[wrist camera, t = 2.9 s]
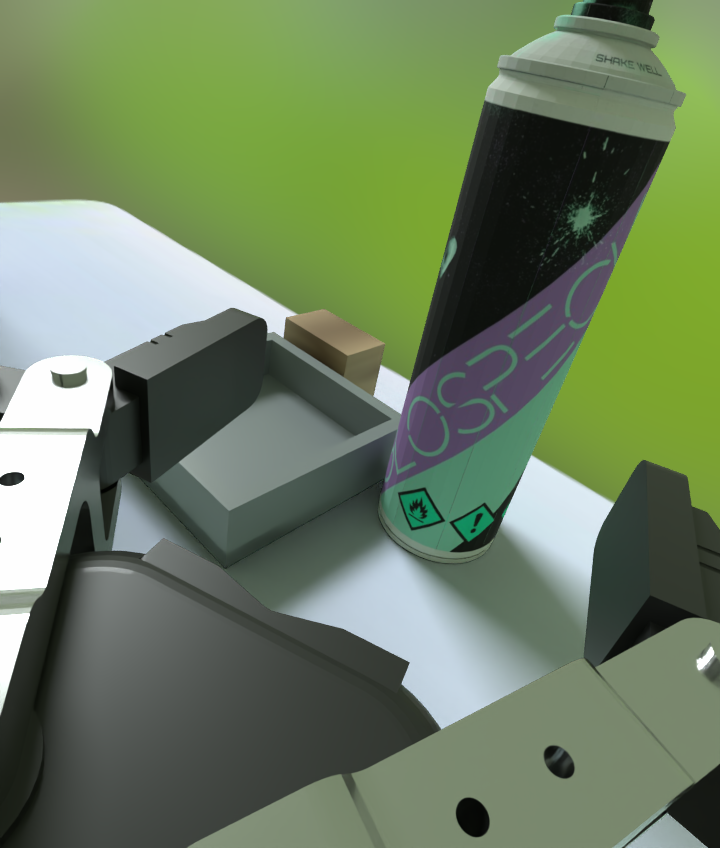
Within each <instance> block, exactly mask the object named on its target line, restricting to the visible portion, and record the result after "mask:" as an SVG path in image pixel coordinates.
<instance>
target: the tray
mask: <svg viewBox="0 0 720 848" xmlns="http://www.w3.org/2000/svg"><path fill="white" fill-rule="evenodd" d="M400 418H401V414H400V413H398V412H396V411H395V410H393V409H392V408H390V407H389V406H387V405H386V404H384V403H383V402H381V401H379V400H378V399H376V398H375V397H373V396H372V395H370V394H369V393H367V392H366V391H364V390H362V389H361V388H359V387H358V386H356V385H355V384H353V383H352V382H350V381H349V380H347V379H346V378H344V377H342V376H341V375H339V374H338V373H336V372H335V371H333V370H332V369H330V368H329V367H327V366H325V365H324V364H322V363H321V362H319V361H318V360H316V359H315V358H313V357H312V356H310V355H308V354H307V353H305V352H304V351H302V350H301V349H299V348H298V347H296V346H295V345H293V344H291V343H290V342H288V341H287V340H285V339H284V338H282V337H281V336H279V335H278V334H276V333H275V332H272V333H268V334H267V341H266V352H265V362H264V373H263V382H262V387H261V390H260V393H259V395H258V397H257V399H256V401H255V402H254V403H253V405H252V406H251V407H250V408H248V409H247V410H246V411H244V412H243V413H242V414H240V415H239V416H238V417H237V418H235V419H234V420H233V421H231V422H230V423H229V424H228V425H226V426H225V427H224V428H222V429H221V430H220V431H218V432H217V433H216V434H215V435H213V436H212V437H211V438H209V439H208V440H207V441H206V442H204V443H203V444H202V445H200V446H199V447H198V448H196V449H195V450H194V451H193V452H191V453H190V454H189V455H187V456H186V457H185V458H184V459H182V460H181V461H180V462H178V463H177V464H176V465H174V466H173V467H172V468H171V469H169V470H168V471H167V472H165V473H164V474H163V475H162V476H160V477H159V478H158V479H156V480H155V481H154V482H152V483H150V482H148V481H146V480H143V479H141V478H140V479H141V480H142V481H143V482H144V483H145V484H146V485H147V486H148V487H149V488H150V489H151V490H152V491H153V492H154V494H155V495H156V496H157V497H158V498H159V499H160V500H161V501H162V502H163V503H164V504H165V505H166V506H167V507H168V508H169V509H170V510H171V512H172V513H173V514H174V515H175V516H176V517H177V518H178V519H179V520H180V521H181V522H182V523H183V524H184V525H185V526H186V527H187V528H188V530H189V531H190V532H191V533H192V534H193V535H194V536H195V537H196V538H197V539H198V540H199V541H200V542H201V543H202V544H203V545H204V546H205V548H206V549H207V550H208V551H209V552H210V553H211V554H212V555H213V556H214V557H215V558H216V559H217V560H218V561H219V562H220V563H221V565H222V566H223V567H224V568H227V567H229V566H231V565H232V564H234V563H236V562H238V561H239V560H241V559H243V558H245V557H246V556H248V555H250V554H252V553H254V552H255V551H257V550H259V549H261V548H262V547H264V546H266V545H268V544H269V543H271V542H273V541H275V540H277V539H278V538H280V537H282V536H284V535H285V534H287V533H289V532H291V531H292V530H294V529H296V528H298V527H300V526H301V525H303V524H305V523H307V522H308V521H310V520H312V519H314V518H315V517H317V516H319V515H321V514H322V513H324V512H326V511H328V510H330V509H331V508H333V507H335V506H337V505H338V504H340V503H342V502H344V501H345V500H347V499H349V498H351V497H353V496H354V495H356V494H358V493H360V492H361V491H363V490H365V489H367V488H368V487H370V486H372V485H374V484H376V483H377V482H379V481H381V480H383V479H384V478H385V475H386V471H387V467H388V464H389V460H390V456H391V452H392V448H393V445H394V441H395V437H396V433H397V430H398V426H399V422H400Z"/></svg>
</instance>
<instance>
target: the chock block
mask: <svg viewBox="0 0 720 848" xmlns="http://www.w3.org/2000/svg"><path fill="white" fill-rule="evenodd" d="M284 339H285V340H287V341H288V342H290V343H291V344H293V345H295V346H296V347H298V348H299V349H301V350H302V351H304V352H305V353H307V354H308V355H310V356H312V357H313V358H315V359H316V360H318V361H319V362H321V363H322V364H324V365H325V366H327V367H329V368H330V369H332V370H333V371H335V372H336V373H338V374H339V375H341V376H342V377H344V378H346V379H347V380H349V381H350V382H352V383H353V384H355V385H356V386H358V387H359V388H361V389H362V390H364V391H366V392H367V393H369V394H370V395H372V396H373V395H374V391H375V387H376V382H377V378H378V373H379V369H380V365H381V360H382V355H383V351H384V346H385V344H384V343H383V342H381V341H379V340H378V339H376V338H374V337H372V336H371V335H369V334H367V333H365V332H364V331H362V330H360V329H358V328H357V327H355V326H353V325H351V324H350V323H348V322H346V321H344V320H343V319H341V318H339V317H337V316H336V315H334V314H332V313H330V312H328V311H327V310H325V309H323V310H318V311H313V312H309V313H304V314H300V315H295V316H291V317H286V322H285V331H284Z"/></svg>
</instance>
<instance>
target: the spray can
mask: <svg viewBox="0 0 720 848" xmlns="http://www.w3.org/2000/svg"><path fill="white" fill-rule="evenodd" d="M652 2H653V0H583V2H578V3H576V4H574V6H573V10H572V13H571V15H562V16H558V17H557V18H556V21H555V24H554V28H555V29H556V30H557V31H555V32H553V33H550V34H547V35H545V36H543V37H541V38H539V39H537V40H535V41H533V42H531V43H530V44H528V45H526V46H524V47H523V48H521V49H519V50H518V51H516V52H514V53H513V54H512V55H511V56H508V55H502V56H500V59H499V62H498V68H500V70H499V71H500V74H499V76H498V78H497V79H496V80H495V81H494V82H493V83H492V84H491V85H490V86H489V87H488V90H487V93H486V97H485V101H484V105H483V109H482V113H481V116H480V120H479V124H478V128H477V131H476V135H475V139H474V142H473V146H472V150H471V154H470V158H469V162H468V165H467V169H466V173H465V177H464V181H463V184H462V188H461V192H460V195H459V199H458V203H457V207H456V211H455V214H454V219H453V222H452V226H451V229H450V233H449V237H448V241H447V245H446V248H445V252H444V256H443V260H442V263H441V267H440V271H439V275H438V279H437V283H436V286H435V290H434V294H433V297H432V301H431V305H430V309H429V312H428V316H427V320H426V324H425V328H424V331H423V335H422V339H421V343H420V346H419V350H418V354H417V358H416V362H415V365H414V369H413V373H412V377H411V380H410V384H409V388H408V392H407V396H406V399H405V403H404V407H403V411H402V414H401V418H400V422H399V426H398V430H397V433H396V437H395V441H394V445H393V448H392V452H391V456H390V460H389V464H388V467H387V471H386V475H385V479H384V482H383V486H382V490H381V494H380V499H379V505H378V513H379V518H380V521H381V523H382V525H383V527H384V529H385V530H386V531H387V533H388V534H389V536H390V537H391V538H392V539H393V540H395V541H396V542H397V543H398V544H399V545H400V546H402V547H403V548H405V549H406V550H408V551H409V552H411V553H413V554H415V555H417V556H419V557H422V558H425V559H428V560H431V561H435V562H441V563H455V564H456V563H463V562H468V561H471V560H474V559H477V558H478V557H480V556H481V555H483V554H484V553H485V552H486V551H487V550H488V549H489V547H490V545H491V543H492V542H493V540H494V538H495V535H496V533H497V531H498V529H499V526H500V524H501V522H502V520H503V517H504V515H505V513H506V511H507V508H508V506H509V504H510V502H511V499H512V497H513V495H514V493H515V490H516V488H517V486H518V484H519V481H520V479H521V477H522V474H523V472H524V470H525V468H526V465H527V463H528V461H529V459H530V456H531V454H532V452H533V450H534V447H535V445H536V443H537V440H538V438H539V436H540V434H541V432H542V429H543V427H544V425H545V422H546V420H547V418H548V415H549V413H550V411H551V409H552V407H553V404H554V402H555V400H556V398H557V395H558V393H559V391H560V389H561V386H562V384H563V382H564V380H565V377H566V375H567V373H568V371H569V368H570V366H571V364H572V361H573V359H574V357H575V355H576V352H577V350H578V348H579V346H580V343H581V341H582V339H583V337H584V334H585V332H586V330H587V328H588V325H589V323H590V321H591V318H592V316H593V314H594V312H595V310H596V307H597V305H598V302H599V300H600V298H601V296H602V294H603V291H604V289H605V287H606V285H607V282H608V280H609V278H610V276H611V273H612V271H613V269H614V267H615V264H616V262H617V260H618V258H619V255H620V253H621V251H622V248H623V246H624V244H625V242H626V239H627V237H628V235H629V233H630V230H631V228H632V226H633V224H634V221H635V219H636V217H637V215H638V212H639V210H640V208H641V206H642V203H643V201H644V199H645V196H646V194H647V192H648V190H649V187H650V185H651V183H652V181H653V178H654V176H655V174H656V172H657V169H658V167H659V165H660V163H661V160H662V158H663V156H664V154H665V151H666V149H667V147H668V144H669V142H670V140H671V138H672V136H673V133H674V131H675V129H676V127H675V122H674V116H673V114H674V111H675V110H676V108H677V107H678V106H679V107H680V106H681V105H682V103H683V101H684V98H685V96H686V94H685V93H683V92H680V91H677V90H676V89H675V85H674V83H673V81H672V80H671V78H670V76H669V74H668V72H667V70H666V69H665V68H664V66H663V65H662V63H661V62H660V60H659V59H658V58H657V56H656V55H655V54H654V53H653V52H652V51H651V48H655V47H656V45H657V43H658V40H659V36H658V35H657V34H656V33H654V32H652V31H650V30H651V28H652V26H653V23H654V21H655V20H654V17H652V16H651V15H649V11H650V8H651V5H652Z"/></svg>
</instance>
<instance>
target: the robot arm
mask: <svg viewBox="0 0 720 848" xmlns="http://www.w3.org/2000/svg"><path fill="white" fill-rule="evenodd" d="M266 341H267V324H266V321H265V320H264V319H263V318H260V317H257V316H254V315H252V314H249V313H246V312H244V311H241V310H238V309H235V308H230V309H228V310H226V311H224V312H221V313H219V314H217V315H215V316H213V317H211V318H209V319H207V320H205V321H200V322H194V323H189V324H184V325H181V326H179V327H177V328H174V329H172V330H170V331H168V332H166V333H165V335H160V336H158V337H156V338H154V339H151V341H150V342H145V343H143V344H141V345H139V346H137V347H135V348H133V349H130V350H128V351H126V352H124V353H122V354H120V355H118V356H116V357H114V358H112V359H109V360H107V361H105V362H102V361H100V360H98V359H95V358H91V357H86V356H78V355H66V356H57V357H52V358H47V359H44V360H41V361H39V362H37V363H35V364H33V365H32V366H30V367H29V368H28V369H27V370H21V369H15V368H10V367H5V366H0V848H626V847H628V846H629V845H630V844H631V843H632V842H634V841H635V840H636V839H637V838H639V837H640V836H641V835H642V834H643V833H645V832H646V831H647V830H648V829H649V828H651V827H652V826H653V825H654V824H656V823H657V822H658V821H659V820H660V819H662V818H663V817H664V816H665V815H667V814H669V815H671V816H672V817H673V818H674V819H675V820H676V821H678V822H679V823H680V824H681V825H682V826H683V827H685V828H686V829H687V830H688V831H689V832H690V833H692V834H693V835H694V836H695V837H696V838H697V839H699V840H700V841H701V842H702V843H703V844H704V845H706V846H707V847H708V848H720V530H719V528H718V527H717V525H716V524H715V523H714V521H713V520H712V518H711V517H710V515H709V514H708V513H707V512H705V511H703V510H700V509H697V508H695V507H692V506H691V498H690V491H689V484H688V478H687V476H686V475H684V474H681V473H678V472H676V471H673V470H670V469H668V468H665V467H662V466H659V465H657V464H654V463H651V462H649V461H646V460H643V461H641V462H640V463H639V464H638V465H637V467H636V468H635V470H634V472H633V473H632V475H631V477H630V478H629V480H628V482H627V484H626V485H625V487H624V488H623V490H622V492H621V494H620V495H619V497H618V499H617V501H616V502H615V504H614V506H613V507H612V509H611V511H610V512H609V514H608V516H607V517H606V519H605V521H604V523H603V525H602V527H601V529H600V532H599V534H598V537H597V540H596V544H595V548H594V555H593V565H592V576H591V586H590V597H589V607H588V617H587V628H586V638H585V648H584V658H581V659H578V660H575V661H573V662H571V663H568V664H567V665H565V666H563V667H561V668H559V669H557V670H555V671H553V672H551V673H549V674H547V675H545V676H544V677H542V678H540V679H538V680H536V681H534V682H532V683H530V684H528V685H526V686H524V687H522V688H521V689H519V690H517V691H515V692H513V693H511V694H509V695H507V696H505V697H503V698H501V699H499V700H497V701H496V702H494V703H492V704H490V705H488V706H486V707H484V708H482V709H480V710H478V711H476V712H474V713H473V714H471V715H469V716H467V717H465V718H463V719H461V720H459V721H457V722H455V723H453V724H451V725H449V726H448V727H446V728H444V729H442V730H441V728H440V727H439V725H438V724H437V723H436V721H435V720H434V719H433V717H432V716H431V715H430V713H429V712H428V711H427V709H426V708H425V707H424V706H423V705H422V704H421V703H420V702H419V700H418V699H417V698H416V697H415V696H414V695H413V694H412V693H411V692H410V691H408V690H407V689H406V688H405V687H404V686H403V685H402V684H401V683H402V681H403V678H404V676H405V673H406V671H407V668H408V665H409V663H410V662H408V661H406V660H404V659H402V658H400V657H398V656H396V655H394V654H392V653H390V652H388V651H386V650H384V649H382V648H380V647H378V646H376V645H374V644H372V643H370V642H368V641H366V640H364V639H362V638H360V637H358V636H356V635H354V634H352V633H350V632H348V631H346V630H344V629H341V628H337V627H333V626H329V625H325V624H321V623H317V622H313V621H309V620H305V619H301V618H297V617H293V616H289V615H285V614H281V613H277V612H274V611H271V610H269V609H267V608H266V607H265V606H263V605H262V604H261V603H260V602H259V601H258V600H256V599H255V598H254V597H253V596H252V595H251V594H250V593H249V592H247V591H246V590H245V589H244V588H243V587H242V586H241V585H240V584H238V583H237V582H236V581H235V580H234V579H233V578H232V577H231V576H229V575H228V574H227V573H226V572H225V571H224V570H223V569H222V568H220V567H219V566H218V565H216V564H214V563H212V562H210V561H208V560H206V559H204V558H202V557H200V556H198V555H196V554H194V553H192V552H190V551H188V550H186V549H184V548H182V547H180V546H178V545H176V544H174V543H172V542H170V541H168V540H166V539H164V538H163V539H162V540H161V541H160V542H159V543H158V544H156V545H155V546H154V547H153V548H152V549H151V550H150V551H149V552H148V553H147V554H142V553H135V552H127V551H112V546H113V540H114V533H115V527H116V521H117V515H118V509H119V502H120V496H121V478H122V477H123V476H125V475H126V474H127V473H131V474H133V475H135V476H137V477H139V478H141V479H143V480H146V481H148V482H150V483H152V482H154V481H155V480H156V479H158V478H159V477H160V476H162V475H163V474H164V473H165V472H167V471H168V470H169V469H171V468H172V467H173V466H174V465H176V464H177V463H178V462H180V461H181V460H182V459H184V458H185V457H186V456H187V455H189V454H190V453H191V452H193V451H194V450H195V449H196V448H198V447H199V446H200V445H202V444H203V443H204V442H206V441H207V440H208V439H209V438H211V437H212V436H213V435H215V434H216V433H217V432H218V431H220V430H221V429H222V428H224V427H225V426H226V425H228V424H229V423H230V422H231V421H233V420H234V419H235V418H237V417H238V416H239V415H240V414H242V413H243V412H244V411H246V410H247V409H248V408H250V407H251V406H252V405H253V403H254V402H255V401H256V399H257V397H258V395H259V393H260V390H261V387H262V382H263V373H264V362H265V352H266Z"/></svg>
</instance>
